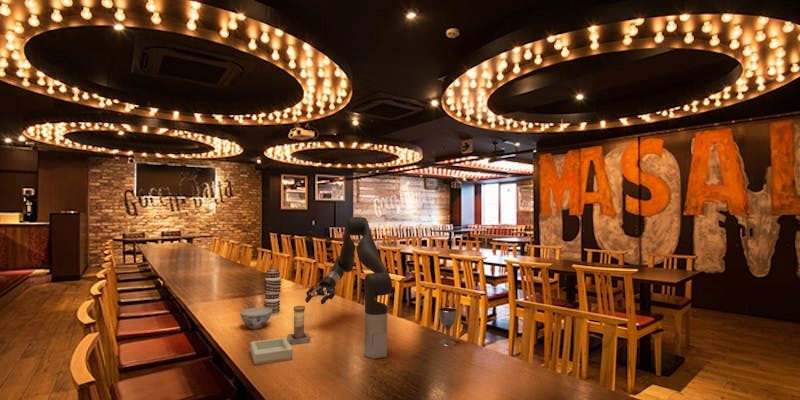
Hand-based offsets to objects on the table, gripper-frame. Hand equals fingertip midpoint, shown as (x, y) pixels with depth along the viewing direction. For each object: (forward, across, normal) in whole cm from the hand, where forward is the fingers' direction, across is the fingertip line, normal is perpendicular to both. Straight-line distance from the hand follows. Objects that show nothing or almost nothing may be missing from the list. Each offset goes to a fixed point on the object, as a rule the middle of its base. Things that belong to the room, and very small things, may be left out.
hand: (314, 302), depth 190 cm
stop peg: (+17, 0, +8) cm, 19 cm away
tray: (+35, +1, -1) cm, 35 cm away
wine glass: (-3, +63, +19) cm, 66 cm away
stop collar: (+17, 0, +8) cm, 19 cm away
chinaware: (+9, -32, +12) cm, 35 cm away
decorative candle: (-12, -42, +22) cm, 49 cm away
